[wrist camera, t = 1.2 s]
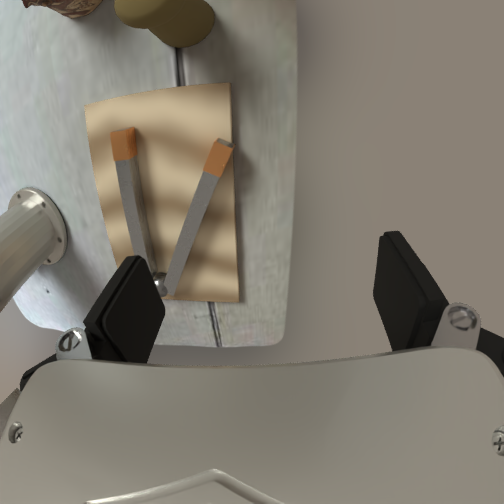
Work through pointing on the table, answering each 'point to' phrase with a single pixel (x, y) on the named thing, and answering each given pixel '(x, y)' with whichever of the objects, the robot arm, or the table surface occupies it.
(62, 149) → the table surface
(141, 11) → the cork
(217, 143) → the tongs arm
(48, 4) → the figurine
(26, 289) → the table surface
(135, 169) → the arm
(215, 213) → the board
